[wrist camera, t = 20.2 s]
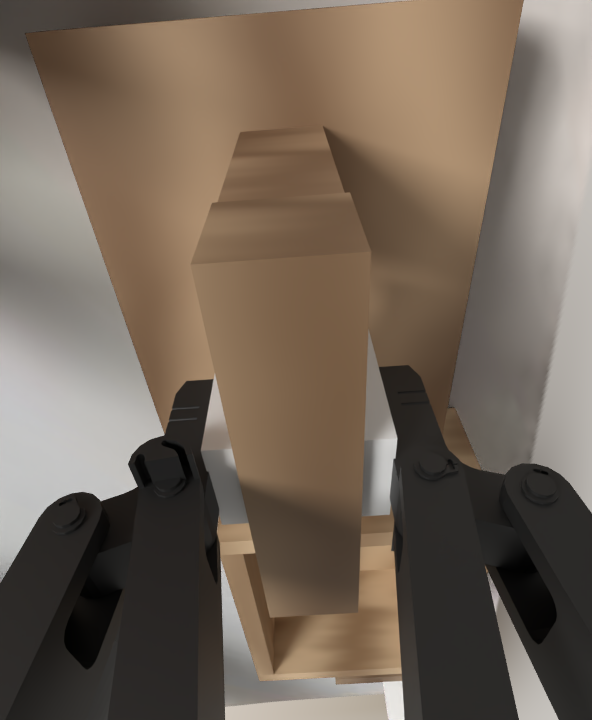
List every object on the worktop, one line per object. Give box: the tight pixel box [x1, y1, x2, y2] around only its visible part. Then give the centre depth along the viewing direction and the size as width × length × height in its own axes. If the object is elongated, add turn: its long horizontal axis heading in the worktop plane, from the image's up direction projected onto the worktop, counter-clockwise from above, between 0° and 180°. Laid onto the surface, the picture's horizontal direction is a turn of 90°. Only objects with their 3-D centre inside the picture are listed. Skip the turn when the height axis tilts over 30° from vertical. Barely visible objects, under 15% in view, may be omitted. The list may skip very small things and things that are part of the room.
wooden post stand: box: [25, 0, 524, 618], centre depth 14 cm, size 13×17×10 cm
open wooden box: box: [217, 408, 488, 681], centre depth 27 cm, size 12×16×7 cm
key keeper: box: [335, 674, 402, 684], centre depth 39 cm, size 6×9×3 cm
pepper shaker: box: [383, 681, 405, 720], centre depth 42 cm, size 4×4×10 cm
